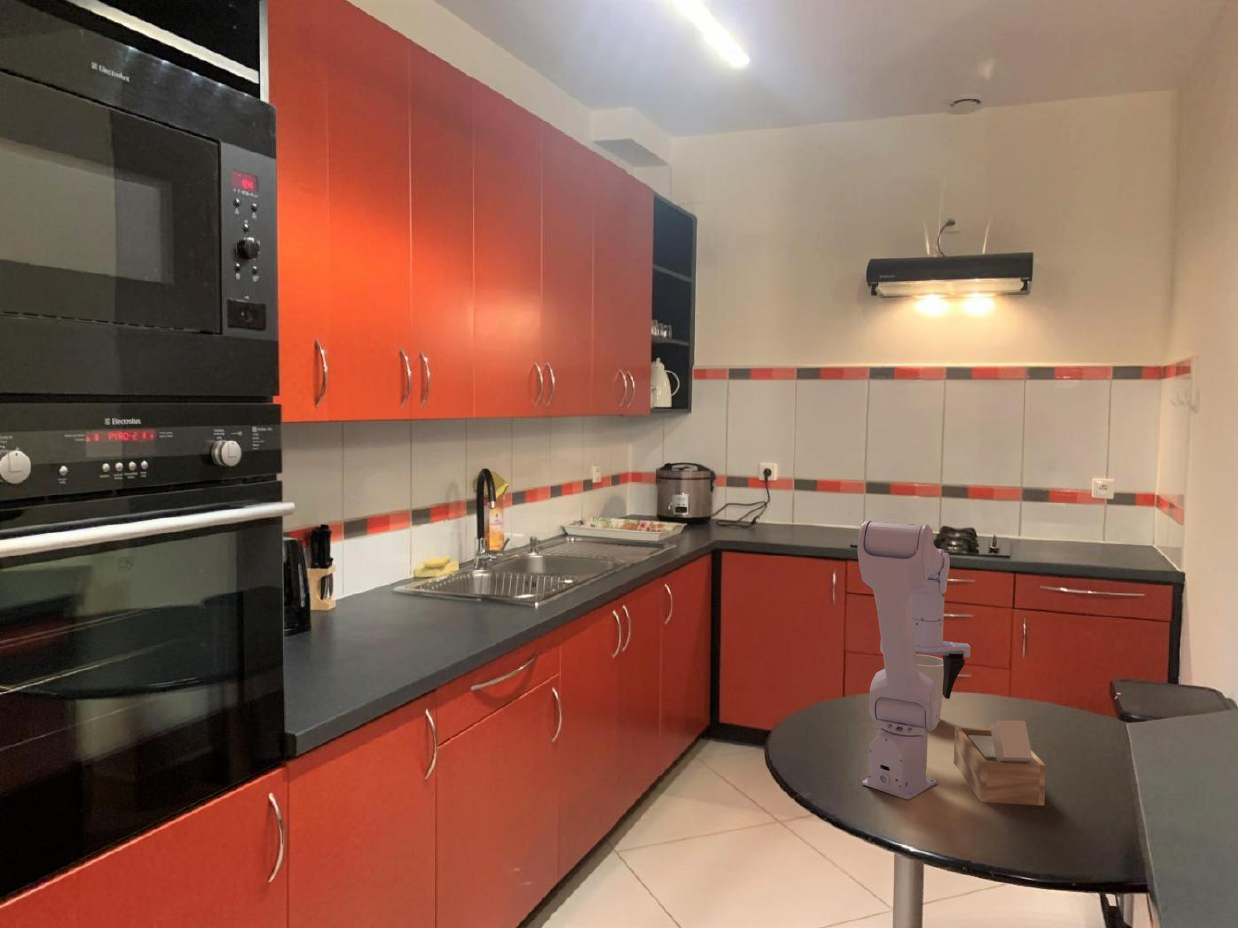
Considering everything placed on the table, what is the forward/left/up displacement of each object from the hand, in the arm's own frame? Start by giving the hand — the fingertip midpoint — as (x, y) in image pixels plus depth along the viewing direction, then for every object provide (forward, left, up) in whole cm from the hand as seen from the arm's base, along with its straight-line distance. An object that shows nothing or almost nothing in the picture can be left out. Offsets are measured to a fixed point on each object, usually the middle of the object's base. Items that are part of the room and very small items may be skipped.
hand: (923, 695), depth 153 cm
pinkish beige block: (-8, -19, -4) cm, 21 cm away
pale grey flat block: (-4, -15, -4) cm, 17 cm away
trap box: (-3, -14, -10) cm, 18 cm away
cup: (+16, +8, -11) cm, 21 cm away
